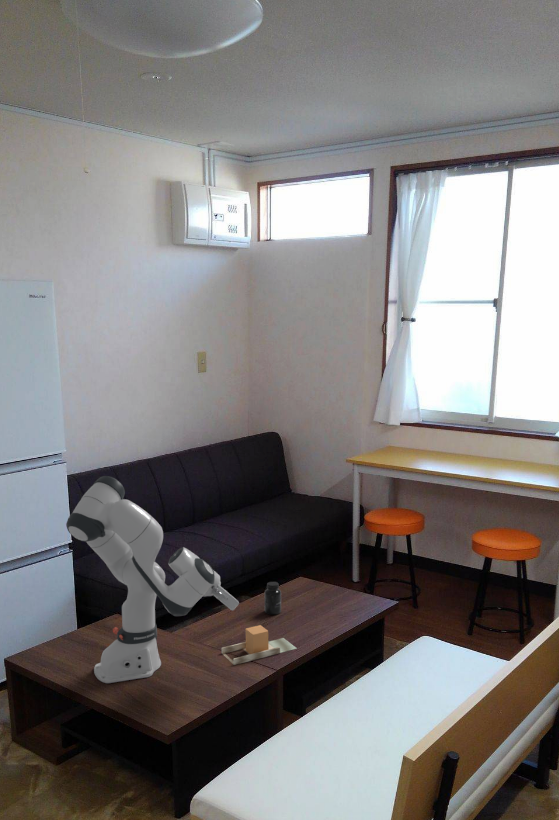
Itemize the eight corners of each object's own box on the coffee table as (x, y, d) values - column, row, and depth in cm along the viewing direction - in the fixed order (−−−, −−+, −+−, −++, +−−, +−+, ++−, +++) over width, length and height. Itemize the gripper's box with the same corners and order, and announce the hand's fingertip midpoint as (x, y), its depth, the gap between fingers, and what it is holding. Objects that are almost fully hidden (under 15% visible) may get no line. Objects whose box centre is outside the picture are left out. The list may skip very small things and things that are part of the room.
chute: (234, 669, 240) (233, 659, 240) (221, 657, 249) (221, 647, 248) (297, 652, 252) (297, 643, 252) (283, 641, 261) (283, 632, 260)
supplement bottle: (281, 615, 285) (280, 586, 284) (264, 615, 285) (263, 586, 284) (281, 608, 292) (281, 580, 291) (265, 608, 292) (264, 580, 291)
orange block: (253, 656, 246) (253, 634, 245) (245, 650, 251) (245, 628, 250) (268, 652, 249) (268, 631, 248) (260, 646, 254) (260, 625, 253)
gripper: (225, 584, 228) (252, 608, 234) (202, 566, 247) (228, 589, 252) (212, 600, 227) (240, 623, 232) (190, 581, 245) (217, 603, 250)
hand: (234, 605), depth 242 cm, fingers closed
